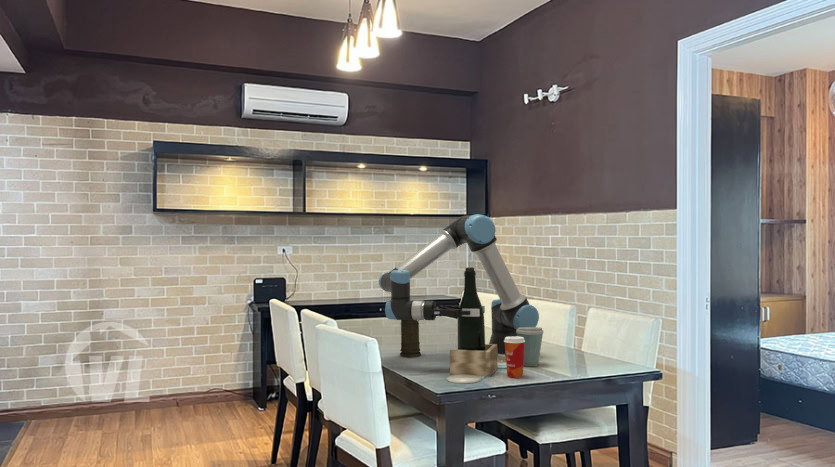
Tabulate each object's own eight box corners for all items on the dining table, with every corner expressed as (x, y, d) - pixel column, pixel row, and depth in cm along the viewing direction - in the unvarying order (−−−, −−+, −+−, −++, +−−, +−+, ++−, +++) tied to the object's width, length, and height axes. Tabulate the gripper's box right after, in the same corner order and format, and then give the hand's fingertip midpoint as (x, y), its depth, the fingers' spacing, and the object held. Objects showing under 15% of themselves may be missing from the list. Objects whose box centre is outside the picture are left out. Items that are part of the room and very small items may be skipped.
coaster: (478, 375, 235) (478, 373, 235) (483, 383, 223) (483, 381, 223) (445, 376, 234) (445, 374, 234) (448, 384, 222) (448, 382, 222)
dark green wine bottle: (481, 351, 249) (479, 266, 249) (488, 356, 238) (487, 267, 238) (454, 352, 247) (453, 267, 247) (461, 357, 237) (459, 268, 237)
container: (418, 357, 270) (418, 315, 270) (398, 357, 272) (397, 315, 272) (422, 353, 279) (422, 312, 279) (402, 353, 281) (402, 312, 281)
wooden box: (450, 374, 237) (449, 350, 237) (459, 365, 252) (459, 343, 252) (490, 376, 233) (489, 351, 233) (497, 367, 248) (497, 344, 248)
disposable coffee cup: (511, 363, 255) (510, 325, 255) (534, 361, 259) (534, 324, 259) (525, 368, 245) (524, 329, 245) (549, 366, 249) (548, 327, 249)
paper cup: (502, 374, 236) (501, 336, 236) (522, 373, 237) (522, 335, 237) (507, 379, 228) (506, 339, 228) (528, 378, 229) (527, 339, 229)
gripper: (432, 316, 258) (487, 317, 252) (416, 324, 237) (476, 325, 231) (432, 297, 258) (487, 297, 252) (416, 304, 237) (475, 304, 231)
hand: (482, 311), depth 241 cm, fingers closed on dark green wine bottle, 9 cm apart
